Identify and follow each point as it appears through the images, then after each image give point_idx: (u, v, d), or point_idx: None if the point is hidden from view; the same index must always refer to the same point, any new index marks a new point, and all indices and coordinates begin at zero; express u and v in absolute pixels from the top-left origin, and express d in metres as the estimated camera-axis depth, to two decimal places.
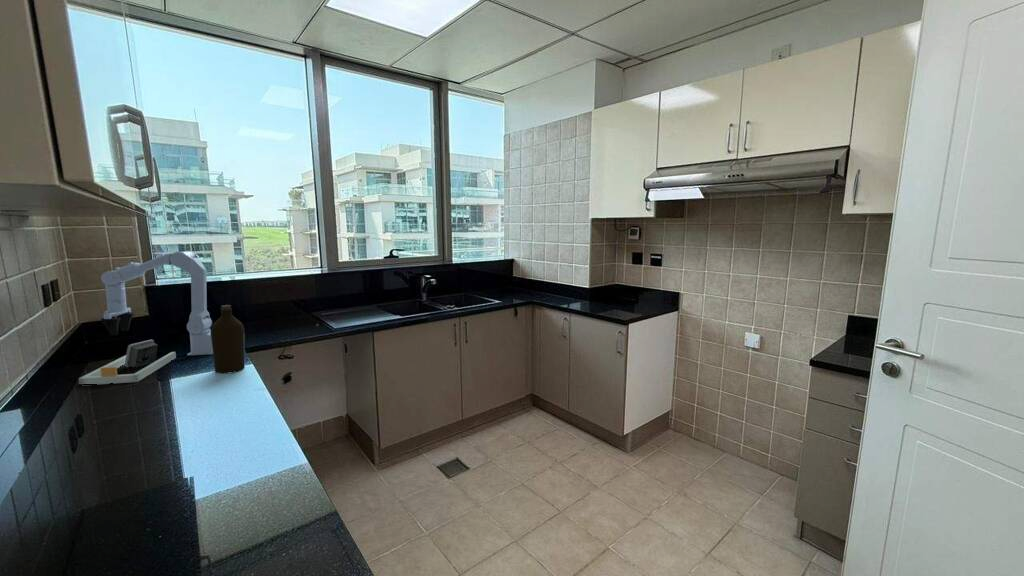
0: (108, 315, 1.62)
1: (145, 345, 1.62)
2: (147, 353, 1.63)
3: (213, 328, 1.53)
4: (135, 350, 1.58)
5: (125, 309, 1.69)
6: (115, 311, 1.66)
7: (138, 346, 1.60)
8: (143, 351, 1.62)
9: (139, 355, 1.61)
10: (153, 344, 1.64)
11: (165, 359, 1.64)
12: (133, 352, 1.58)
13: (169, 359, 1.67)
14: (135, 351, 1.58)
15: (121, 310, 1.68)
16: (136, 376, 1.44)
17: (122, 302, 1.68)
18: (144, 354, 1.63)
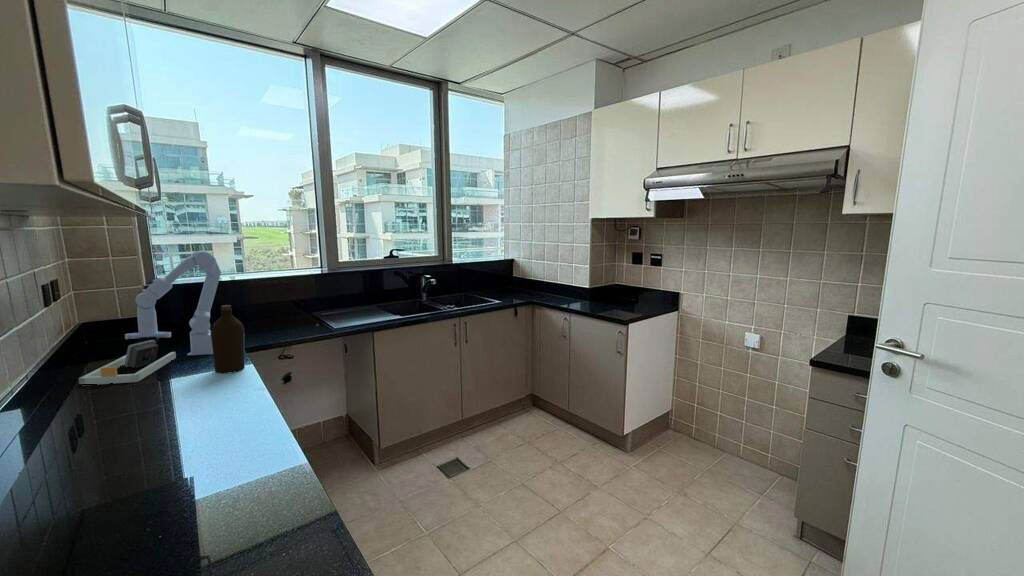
0: None
1: (146, 346, 1.61)
2: (147, 353, 1.63)
3: (213, 328, 1.53)
4: (135, 351, 1.57)
5: (143, 333, 1.64)
6: (138, 333, 1.65)
7: (138, 347, 1.59)
8: (143, 351, 1.61)
9: (139, 355, 1.60)
10: (153, 345, 1.63)
11: (165, 359, 1.64)
12: (133, 352, 1.58)
13: (169, 359, 1.67)
14: (135, 352, 1.57)
15: (139, 333, 1.64)
16: (136, 376, 1.44)
17: (140, 326, 1.64)
18: (144, 354, 1.62)
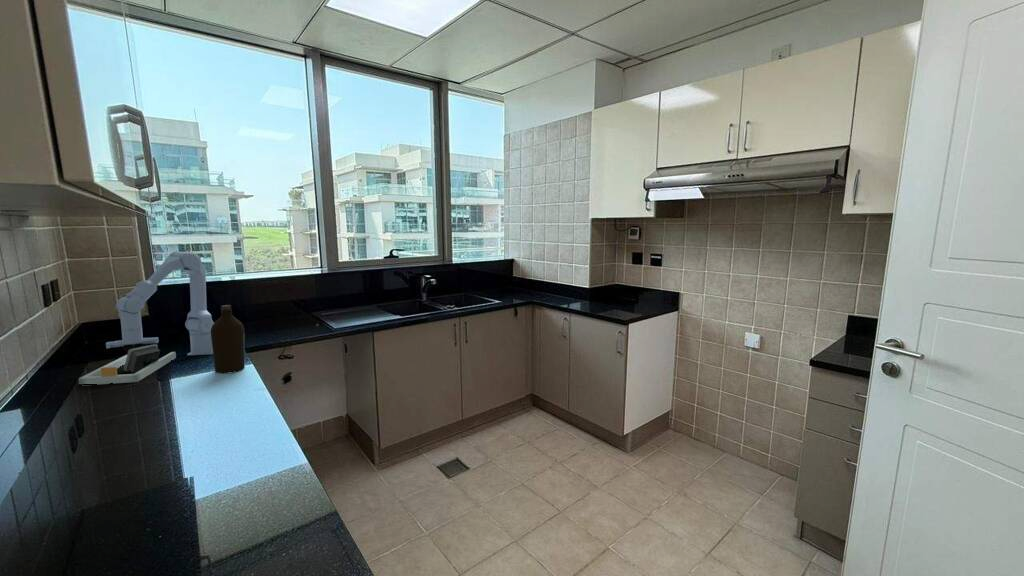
0: (106, 344, 1.51)
1: (147, 351, 1.55)
2: (148, 358, 1.57)
3: (213, 328, 1.53)
4: (134, 356, 1.52)
5: (131, 340, 1.54)
6: (122, 340, 1.54)
7: (139, 351, 1.53)
8: (144, 356, 1.56)
9: (139, 360, 1.55)
10: (155, 350, 1.57)
11: (165, 359, 1.64)
12: (133, 357, 1.52)
13: (169, 359, 1.67)
14: (134, 357, 1.52)
15: (125, 341, 1.54)
16: (136, 376, 1.44)
17: (126, 332, 1.53)
18: (145, 359, 1.57)
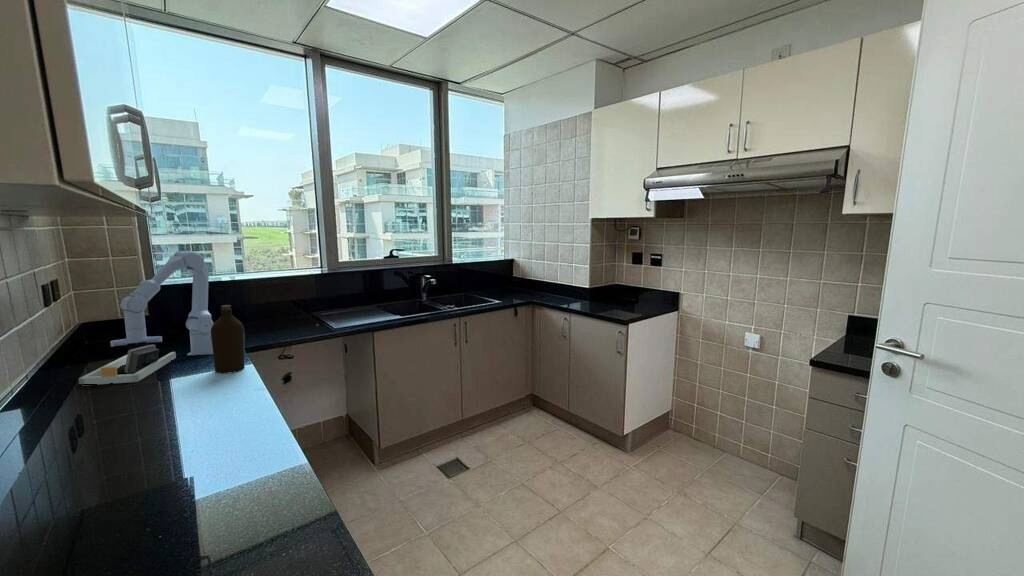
0: None
1: (146, 350, 1.55)
2: (148, 358, 1.57)
3: (213, 328, 1.53)
4: (135, 355, 1.51)
5: (134, 339, 1.56)
6: (126, 339, 1.56)
7: (139, 351, 1.53)
8: (144, 356, 1.55)
9: (140, 361, 1.54)
10: (154, 349, 1.57)
11: (165, 359, 1.64)
12: (133, 358, 1.52)
13: (169, 359, 1.67)
14: (135, 357, 1.51)
15: (129, 339, 1.56)
16: (136, 376, 1.44)
17: (130, 331, 1.55)
18: (145, 359, 1.56)
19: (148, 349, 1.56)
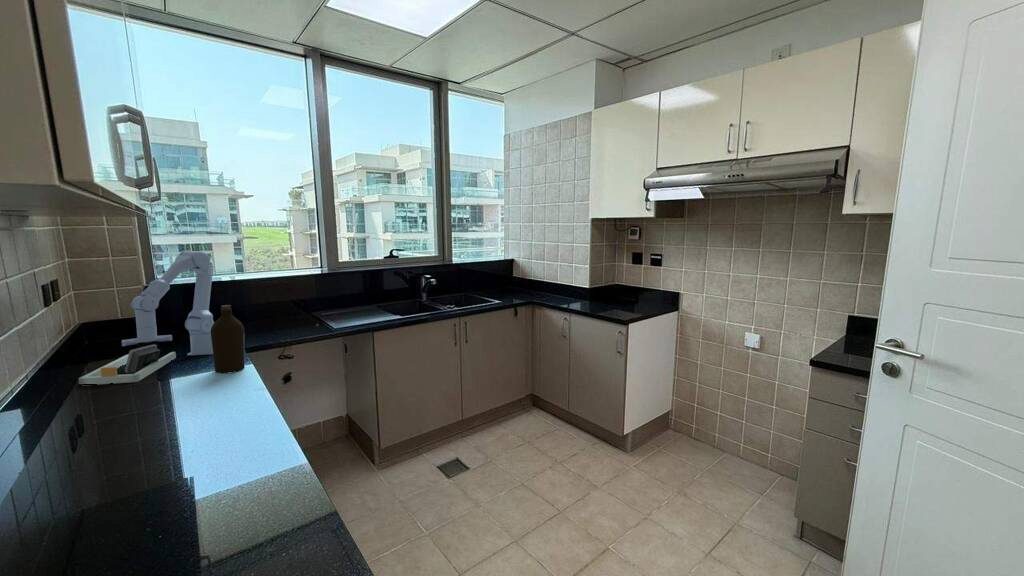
0: None
1: (147, 351, 1.55)
2: (149, 359, 1.57)
3: (213, 328, 1.53)
4: (136, 356, 1.51)
5: (146, 338, 1.58)
6: (137, 338, 1.57)
7: (140, 352, 1.53)
8: (145, 357, 1.55)
9: (140, 361, 1.54)
10: (155, 350, 1.57)
11: (165, 359, 1.64)
12: (134, 358, 1.51)
13: (169, 359, 1.67)
14: (136, 357, 1.51)
15: (141, 338, 1.57)
16: (136, 376, 1.44)
17: (142, 330, 1.57)
18: (146, 360, 1.56)
19: (149, 349, 1.56)
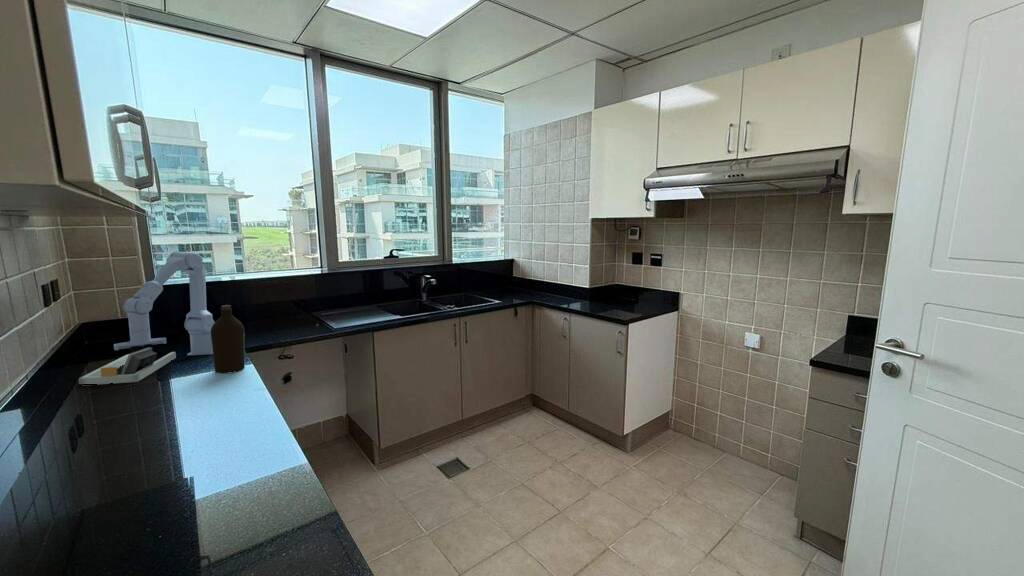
0: (114, 346, 1.49)
1: (145, 354, 1.51)
2: (145, 362, 1.53)
3: (213, 328, 1.53)
4: (136, 360, 1.47)
5: (140, 341, 1.53)
6: (130, 342, 1.53)
7: (139, 355, 1.49)
8: (141, 360, 1.51)
9: (137, 364, 1.50)
10: (152, 353, 1.53)
11: (165, 359, 1.64)
12: (133, 362, 1.47)
13: (169, 359, 1.67)
14: (136, 361, 1.47)
15: (135, 342, 1.52)
16: (136, 376, 1.44)
17: (136, 333, 1.52)
18: (142, 363, 1.52)
19: (146, 353, 1.52)
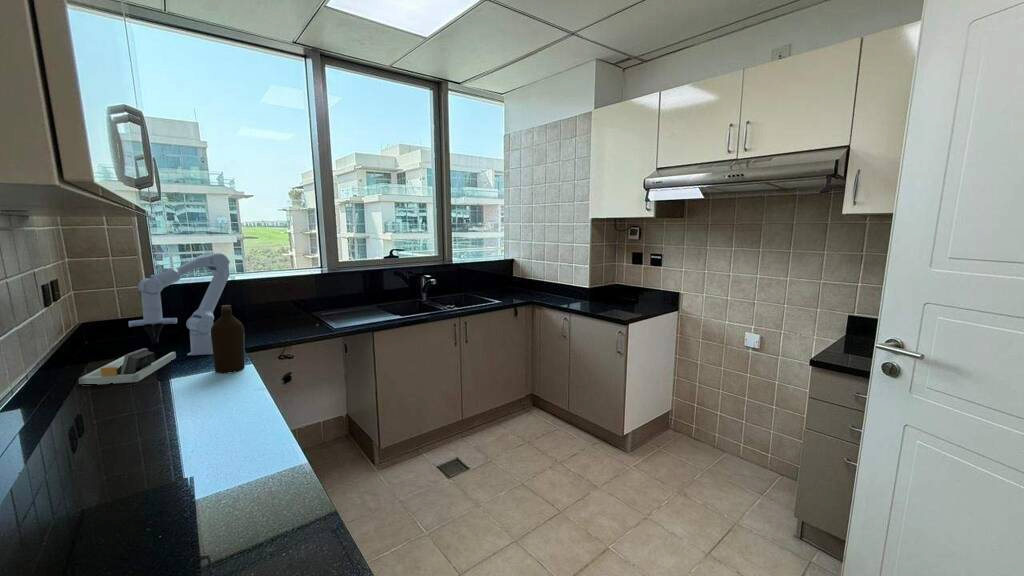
0: None
1: (142, 354, 1.51)
2: (143, 362, 1.52)
3: (213, 328, 1.53)
4: (134, 360, 1.47)
5: (150, 319, 1.61)
6: (143, 320, 1.62)
7: (135, 355, 1.48)
8: (139, 360, 1.51)
9: (135, 365, 1.50)
10: (149, 353, 1.53)
11: (165, 359, 1.64)
12: (131, 362, 1.47)
13: (169, 359, 1.67)
14: (134, 361, 1.47)
15: (145, 320, 1.61)
16: (136, 376, 1.44)
17: (146, 312, 1.61)
18: (140, 364, 1.51)
19: (143, 353, 1.52)
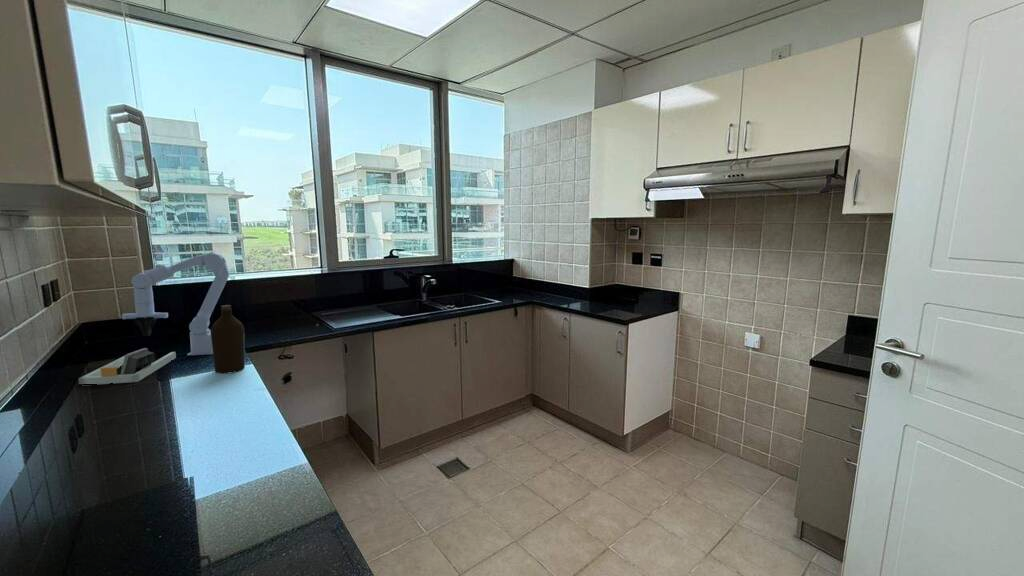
0: None
1: (142, 354, 1.51)
2: (143, 362, 1.52)
3: (213, 328, 1.53)
4: (134, 360, 1.47)
5: (140, 313, 1.66)
6: (135, 313, 1.67)
7: (135, 355, 1.48)
8: (139, 360, 1.51)
9: (135, 365, 1.50)
10: (149, 353, 1.53)
11: (165, 359, 1.64)
12: (131, 362, 1.47)
13: (169, 359, 1.67)
14: (134, 361, 1.47)
15: (136, 313, 1.66)
16: (136, 376, 1.44)
17: (137, 305, 1.65)
18: (140, 364, 1.51)
19: (143, 353, 1.52)
